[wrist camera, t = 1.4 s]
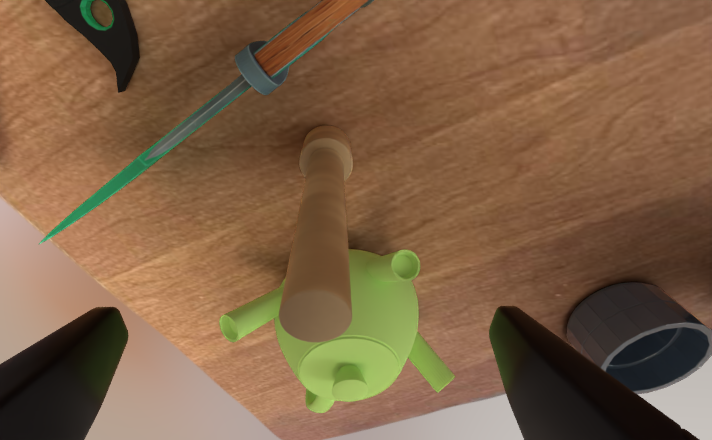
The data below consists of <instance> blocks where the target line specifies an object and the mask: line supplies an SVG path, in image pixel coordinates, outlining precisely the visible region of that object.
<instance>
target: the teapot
mask: <svg viewBox="0 0 712 440" xmlns="http://www.w3.org/2000/svg"><path fill="white" fill-rule="evenodd" d="M348 250H349V267H350V285H351V302H352V321H351V324H350V325H349V327H348V329H347V330H346V331H345V332H344V333H343V334H342V335H340V336H339V337H337V338H335V339H332V340H329V341H325V342H306V341H302V340H299V339H297V338H294V337H293V336H291V335H289V334H288V333H287V332H286V331H285V330H284V329H283V327H282V326H281V323H280V321H279V309H280V304H281V299H282V294H283V289H284V284H285V279H286V278H285V279H284V280H283V282H282V283H281V285H280V287H279V288H277V289H275V290H273V291H271V292H269V293H267V294H265V295H263V296H261V297H259V298H257V299H255V300H253V301H251V302H249V303H247V304H245V305H243V306H241V307H239V308H237V309H235V310H233V311H230V312H228V313H226V314H224V315H222V316H221V317H220V320H219V325H220V329H221V331H222V333H223V335H224V336H225V338H226V339H227V340H229V341H231V342H236V341H238V340H239V339H241V338H242V337H244V336H246V335H247V334H249V333H251V332H252V331H254V330H256V329H257V328H259V327H261V326H262V325H264V324H266V323H267V322H269V321H271V320H272V319H274V323H275V330H276V335H277V339H278V342H279V345H280V348H281V350H282V352H283V354H284V357H285V359H286V360H287V362H288V364H289V365H290V367H291V369H292V370H293V372H294V374H295V375H296V377H297V378H298V379H299V381H300V382H301V383H302V384H303V385H304V387H305V388H306V406H307V408H308V409H309V410H311V411H313V412H316V413H324V412H326V411H328V410H329V409H330V408H331V406H332V405H333V403H334V401H345V402H352V401H357V400H362V399H367V398H370V397H372V396H375V395H377V394H379V393H381V392H382V391H384V390H385V389H387V388H388V387H389V386H390V385H391V384H392V383H393V382H394V381H395V380H396V378H397V377H398V375H399V374H400V372H401V370H402V368H403V366H404V364H405V362H406V360H407V358H409V359H410V361H411V362H412V363H413V364H414V365H415V367H416V368H417V369H418V370H419V371H420V373H421V374H422V375H423V376H424V377H425V379H426V380H427V381H428V382H429V383H430V385H431V386H432V387H433V388H434V389H435V391H436V392H437V393H438V392H439V391H440V390H442V389H443V388H444V387H445V386H446V385H447V384H448V383H449V382H451V381H452V380H453V379H454V378H455V375H454V374H453V373H452V372H451V371H450V369H449V368H448V367H447V366H446V365H445V364H444V362H443V361H442V360H441V359H440V358H439V356H438V355H437V354H436V353H435V352H434V351H433V349H432V348H431V347H430V346H429V345H428V343H427V342H426V341H425V340H424V339H423V338H422V336H421V335H420V334H419V333H418V332H417V328H418V317H419V311H418V299H417V295H416V291H415V287H414V285H413V283H412V281H411V280H413V279H414V278H416V277H417V275H418V273H419V271H420V261H419V258H418V257H417V255H416V254H415V253H414V252H412V251H410V250H400V251H397V252H393V253H390V254H387V255H384V256H380V255H378V254H375V253H372V252H368V251H363V250H355V249H348Z"/></svg>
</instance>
